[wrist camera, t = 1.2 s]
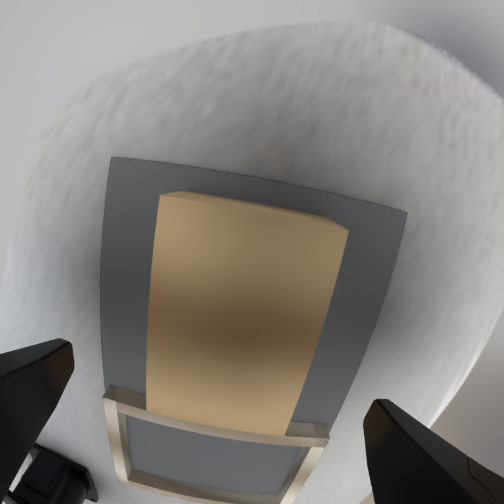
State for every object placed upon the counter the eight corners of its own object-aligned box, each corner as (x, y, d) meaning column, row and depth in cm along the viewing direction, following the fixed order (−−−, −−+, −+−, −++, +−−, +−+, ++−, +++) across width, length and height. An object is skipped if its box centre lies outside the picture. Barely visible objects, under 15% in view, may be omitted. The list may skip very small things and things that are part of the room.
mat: (286, 500, 18) (287, 505, 17) (121, 470, 18) (119, 474, 17) (402, 211, 13) (407, 212, 12) (116, 157, 12) (111, 156, 12)
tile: (280, 394, 14) (284, 436, 12) (163, 373, 14) (146, 411, 11) (328, 217, 12) (348, 230, 9) (182, 190, 12) (160, 194, 9)
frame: (285, 499, 17) (285, 512, 16) (122, 470, 17) (118, 481, 16) (326, 423, 15) (329, 438, 14) (110, 384, 15) (102, 396, 14)
